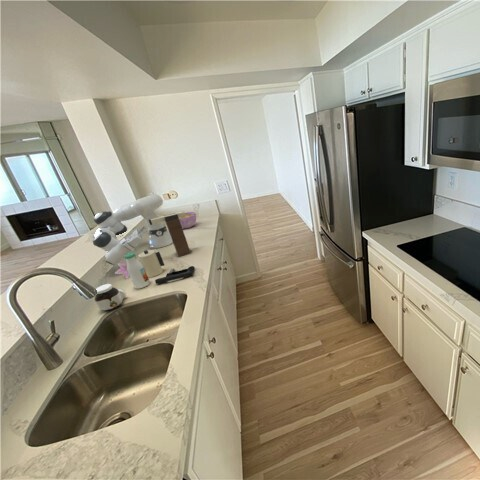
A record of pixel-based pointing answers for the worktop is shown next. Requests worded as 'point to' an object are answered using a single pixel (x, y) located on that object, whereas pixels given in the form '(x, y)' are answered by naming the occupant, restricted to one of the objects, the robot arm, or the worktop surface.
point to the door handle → (176, 275)
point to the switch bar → (161, 219)
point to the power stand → (177, 235)
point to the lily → (123, 269)
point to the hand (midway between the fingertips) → (145, 228)
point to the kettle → (151, 262)
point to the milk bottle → (136, 272)
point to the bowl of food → (188, 220)
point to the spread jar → (109, 297)
